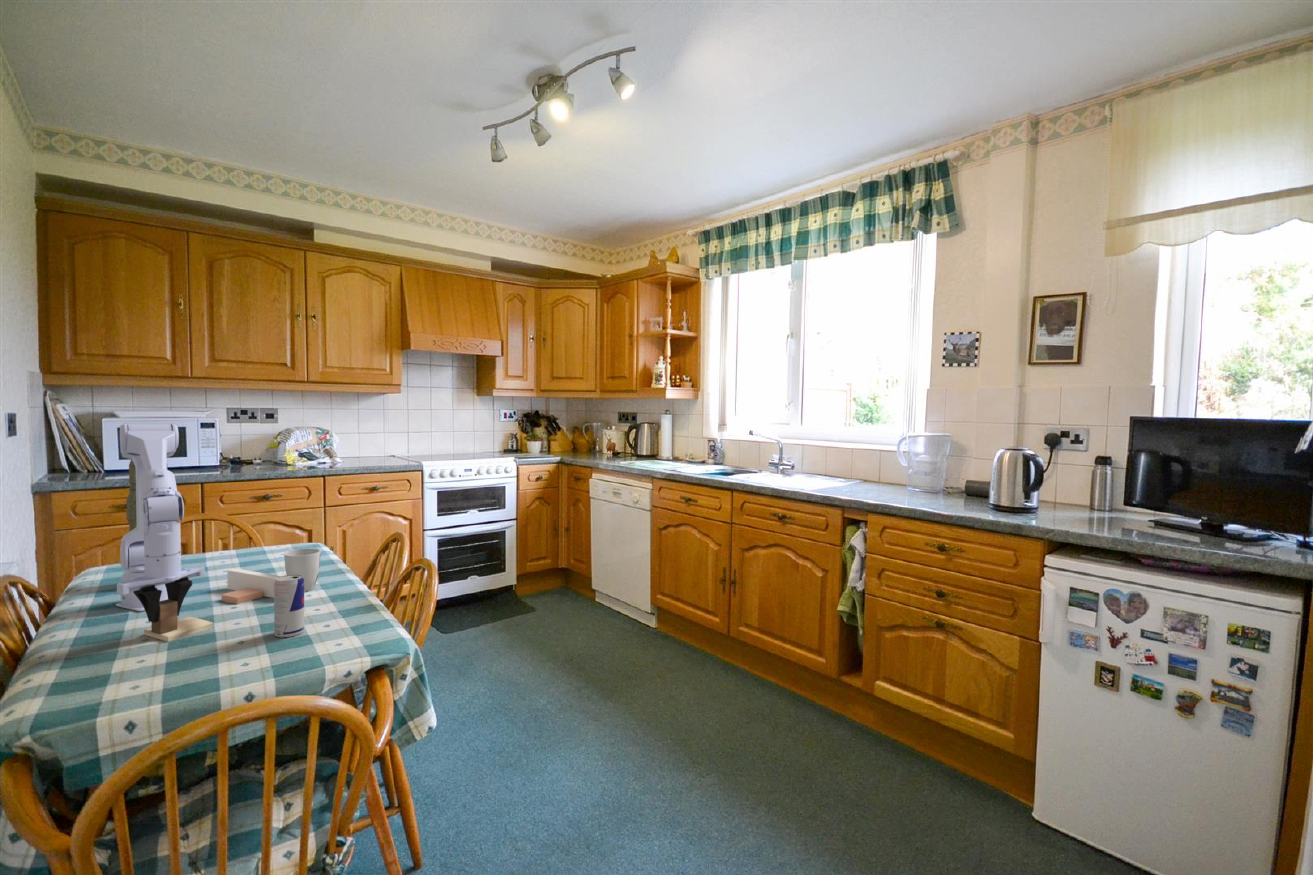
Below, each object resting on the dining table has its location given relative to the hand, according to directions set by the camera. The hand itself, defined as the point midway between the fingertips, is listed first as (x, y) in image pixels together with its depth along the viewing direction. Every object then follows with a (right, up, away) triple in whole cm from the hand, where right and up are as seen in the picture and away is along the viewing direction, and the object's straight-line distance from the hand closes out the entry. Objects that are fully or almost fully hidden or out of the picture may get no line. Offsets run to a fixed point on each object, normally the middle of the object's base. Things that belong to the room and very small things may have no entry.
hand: (163, 618), depth 117 cm
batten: (+1, -3, +28) cm, 28 cm away
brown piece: (+1, -4, +3) cm, 5 cm away
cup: (+9, -3, +32) cm, 33 cm away
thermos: (-33, -2, +34) cm, 48 cm away
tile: (-1, -3, +23) cm, 24 cm away
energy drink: (+24, -4, +3) cm, 25 cm away
